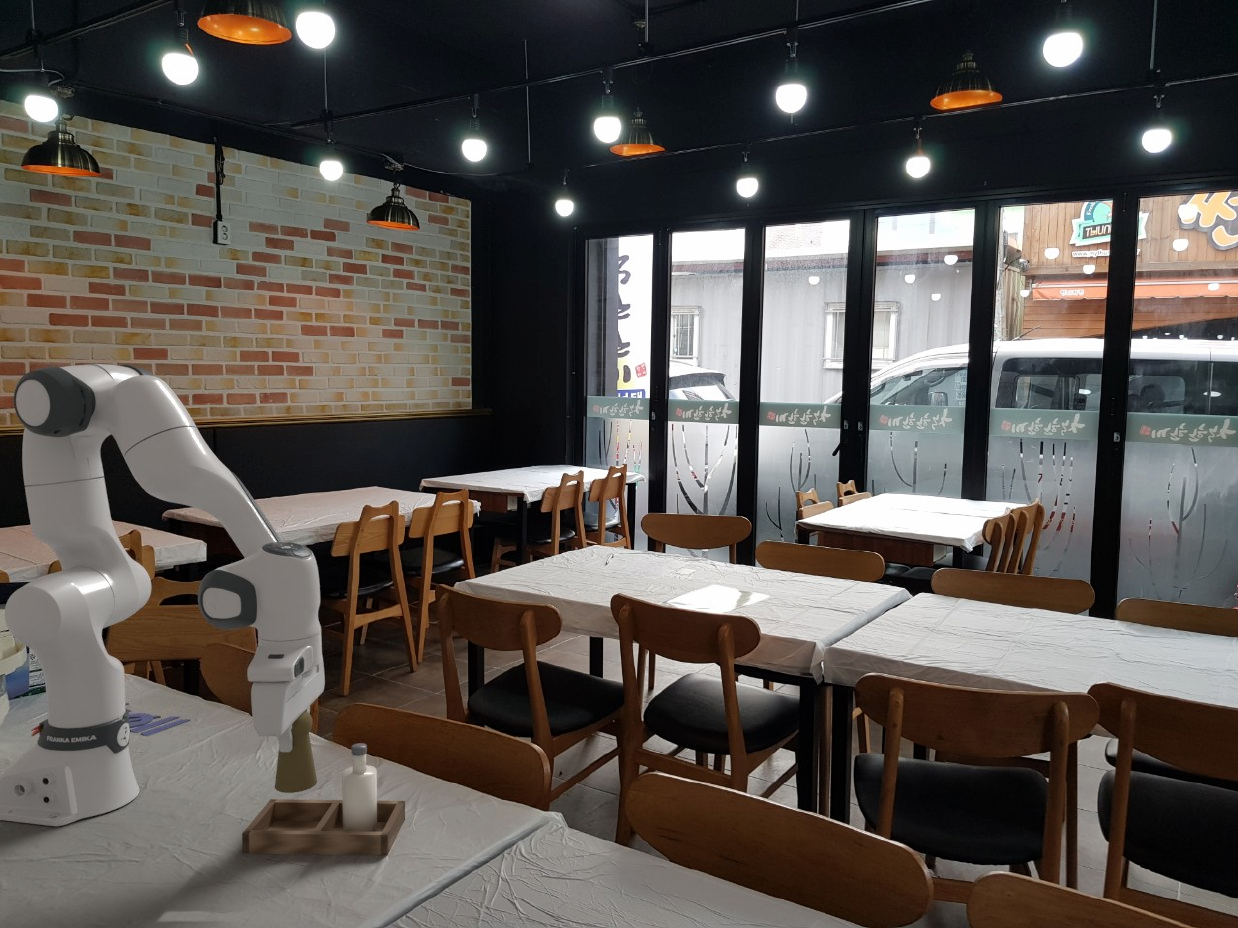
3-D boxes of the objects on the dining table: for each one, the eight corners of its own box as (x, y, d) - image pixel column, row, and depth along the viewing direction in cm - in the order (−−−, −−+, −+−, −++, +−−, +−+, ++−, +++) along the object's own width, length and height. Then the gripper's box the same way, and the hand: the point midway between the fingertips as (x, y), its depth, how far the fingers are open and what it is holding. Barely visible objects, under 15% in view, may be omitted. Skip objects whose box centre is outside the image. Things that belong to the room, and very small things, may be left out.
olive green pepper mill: (304, 794, 135) (302, 721, 134) (266, 791, 136) (264, 718, 135) (324, 776, 141) (322, 706, 140) (287, 774, 142) (285, 704, 141)
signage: (56, 709, 192) (102, 695, 201) (56, 713, 192) (102, 698, 201) (145, 735, 179) (190, 718, 188) (145, 738, 179) (190, 721, 188)
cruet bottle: (338, 843, 137) (337, 752, 135) (348, 827, 142) (347, 739, 140) (372, 844, 137) (371, 752, 135) (381, 828, 142) (380, 739, 140)
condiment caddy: (242, 859, 134) (242, 833, 133) (271, 823, 145) (270, 799, 144) (387, 861, 134) (387, 834, 133) (405, 825, 145) (404, 800, 144)
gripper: (293, 633, 147) (296, 718, 148) (241, 673, 126) (245, 771, 128) (333, 633, 147) (335, 717, 148) (287, 673, 126) (291, 770, 128)
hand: (293, 742), depth 138 cm, fingers closed on olive green pepper mill, 4 cm apart
